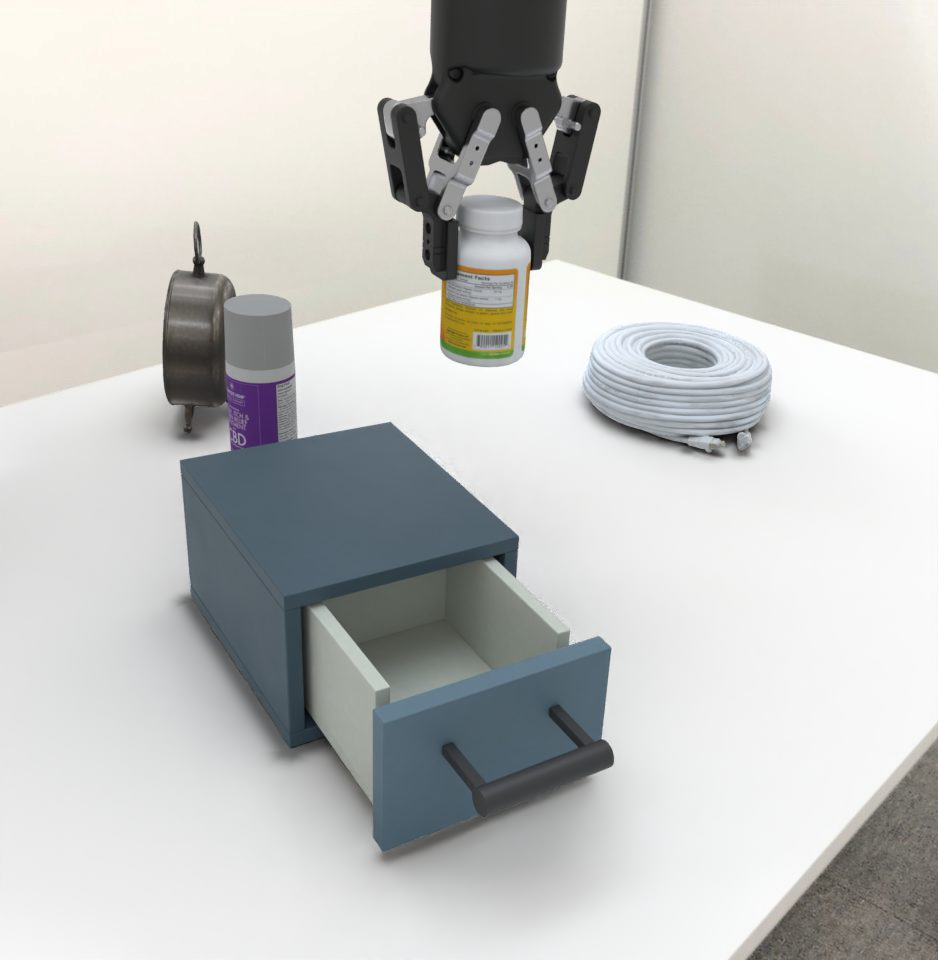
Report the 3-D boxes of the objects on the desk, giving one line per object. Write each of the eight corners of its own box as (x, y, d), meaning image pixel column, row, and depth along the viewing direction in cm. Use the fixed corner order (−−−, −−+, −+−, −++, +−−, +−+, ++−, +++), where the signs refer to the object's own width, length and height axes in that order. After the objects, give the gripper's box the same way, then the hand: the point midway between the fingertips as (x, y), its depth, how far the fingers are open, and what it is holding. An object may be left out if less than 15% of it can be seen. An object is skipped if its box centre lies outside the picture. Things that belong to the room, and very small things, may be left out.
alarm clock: (185, 385, 104) (170, 202, 97) (249, 386, 106) (240, 205, 98) (164, 439, 95) (146, 241, 88) (235, 440, 96) (223, 244, 89)
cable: (748, 464, 102) (758, 399, 99) (554, 424, 105) (559, 360, 102) (780, 392, 117) (789, 334, 114) (610, 359, 120) (615, 301, 118)
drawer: (650, 821, 61) (667, 697, 58) (427, 919, 54) (431, 786, 50) (461, 621, 75) (465, 512, 72) (265, 678, 68) (258, 560, 65)
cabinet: (510, 675, 72) (519, 536, 68) (290, 748, 65) (283, 596, 60) (389, 547, 84) (390, 421, 80) (190, 596, 76) (179, 459, 72)
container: (221, 504, 87) (207, 308, 80) (254, 477, 91) (244, 289, 84) (279, 517, 86) (271, 320, 79) (310, 489, 90) (305, 300, 83)
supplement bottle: (474, 331, 79) (480, 186, 75) (541, 353, 77) (552, 204, 73) (421, 353, 75) (425, 199, 71) (491, 376, 73) (499, 220, 68)
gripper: (570, -26, 73) (550, 245, 80) (350, -38, 64) (351, 264, 72) (644, -9, 67) (615, 279, 75) (414, -20, 59) (408, 304, 67)
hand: (485, 270), depth 74 cm, fingers closed on supplement bottle, 5 cm apart
